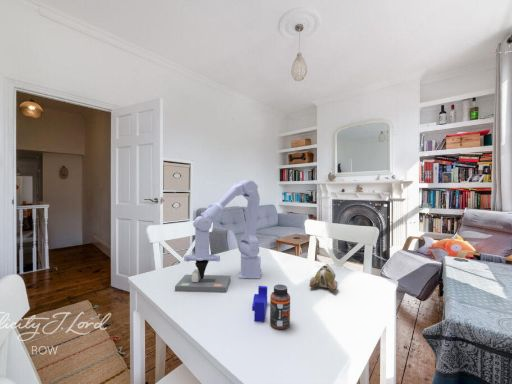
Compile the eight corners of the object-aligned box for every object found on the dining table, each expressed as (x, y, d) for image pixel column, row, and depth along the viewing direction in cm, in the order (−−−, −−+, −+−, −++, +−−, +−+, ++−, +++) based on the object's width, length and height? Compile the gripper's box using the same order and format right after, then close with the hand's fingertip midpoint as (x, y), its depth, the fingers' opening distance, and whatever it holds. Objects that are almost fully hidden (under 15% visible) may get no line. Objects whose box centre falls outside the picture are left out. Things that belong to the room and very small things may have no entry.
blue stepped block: (254, 302, 84) (254, 285, 83) (267, 303, 83) (267, 286, 83) (249, 321, 72) (249, 301, 72) (264, 322, 71) (264, 303, 71)
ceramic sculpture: (340, 261, 101) (336, 275, 88) (340, 281, 102) (336, 298, 89) (315, 258, 106) (307, 271, 93) (315, 277, 107) (307, 292, 93)
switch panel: (230, 280, 103) (230, 275, 103) (225, 292, 91) (226, 287, 91) (185, 279, 103) (185, 274, 103) (175, 291, 91) (175, 285, 91)
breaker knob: (201, 277, 100) (201, 269, 99) (197, 282, 95) (197, 273, 94) (195, 277, 100) (195, 269, 100) (191, 282, 95) (191, 273, 95)
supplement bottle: (284, 332, 66) (285, 293, 66) (266, 326, 69) (266, 288, 69) (293, 322, 71) (293, 285, 71) (275, 316, 74) (275, 281, 74)
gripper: (181, 247, 93) (181, 281, 93) (217, 248, 92) (217, 282, 93) (187, 243, 100) (187, 274, 100) (221, 243, 99) (220, 275, 100)
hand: (202, 278), depth 97 cm, fingers closed
